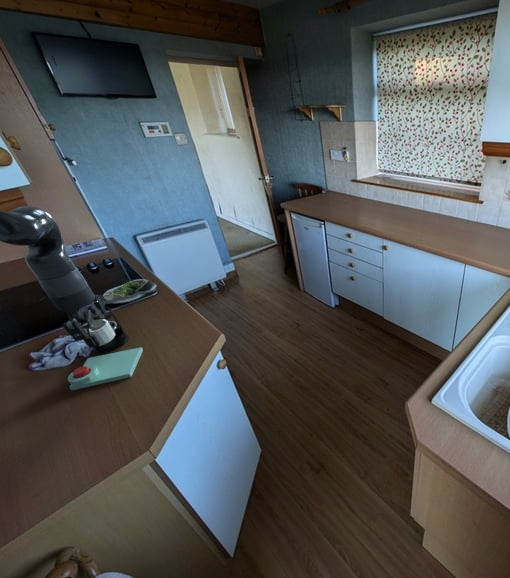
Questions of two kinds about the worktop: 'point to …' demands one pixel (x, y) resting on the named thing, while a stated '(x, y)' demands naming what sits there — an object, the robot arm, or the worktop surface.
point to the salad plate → (130, 291)
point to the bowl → (102, 331)
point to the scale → (107, 368)
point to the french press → (118, 331)
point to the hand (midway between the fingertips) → (100, 338)
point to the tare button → (81, 372)
